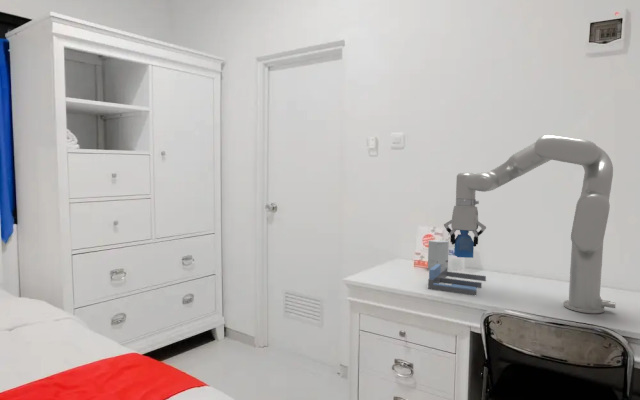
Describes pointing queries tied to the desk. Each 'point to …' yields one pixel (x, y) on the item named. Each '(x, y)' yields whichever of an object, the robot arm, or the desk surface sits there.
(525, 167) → the robot arm
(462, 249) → the perfume bottle
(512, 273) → the desk surface
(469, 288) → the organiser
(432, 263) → the skincare box
